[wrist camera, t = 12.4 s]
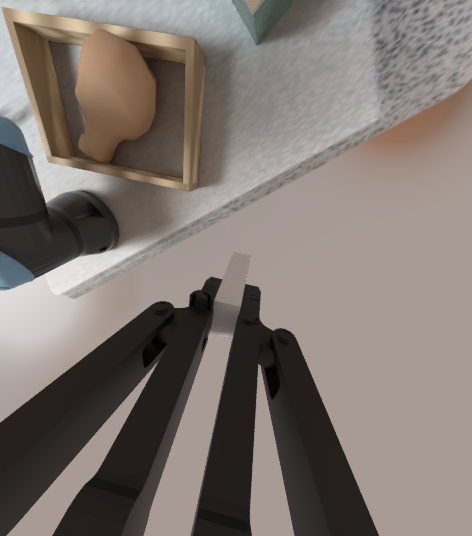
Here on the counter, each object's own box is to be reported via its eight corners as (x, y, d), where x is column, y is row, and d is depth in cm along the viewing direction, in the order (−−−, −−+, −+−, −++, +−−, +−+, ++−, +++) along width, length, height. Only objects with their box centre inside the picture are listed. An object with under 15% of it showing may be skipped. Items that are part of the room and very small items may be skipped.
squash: (180, 88, 32) (158, 89, 25) (131, 172, 43) (107, 188, 36) (118, 12, 27) (71, -10, 20) (81, 129, 38) (43, 138, 31)
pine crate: (71, 162, 41) (48, 162, 36) (38, 28, 31) (1, 7, 27) (198, 188, 39) (189, 191, 35) (205, 56, 29) (194, 38, 25)
